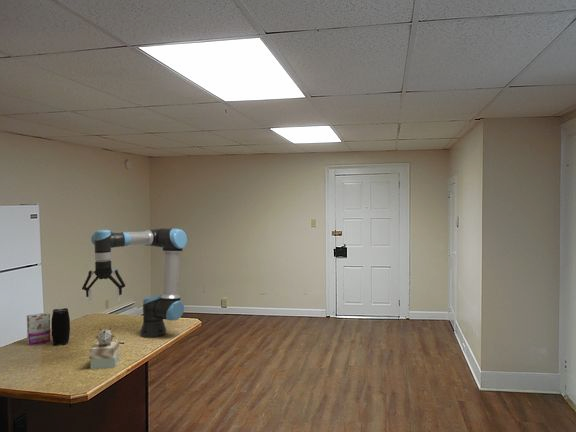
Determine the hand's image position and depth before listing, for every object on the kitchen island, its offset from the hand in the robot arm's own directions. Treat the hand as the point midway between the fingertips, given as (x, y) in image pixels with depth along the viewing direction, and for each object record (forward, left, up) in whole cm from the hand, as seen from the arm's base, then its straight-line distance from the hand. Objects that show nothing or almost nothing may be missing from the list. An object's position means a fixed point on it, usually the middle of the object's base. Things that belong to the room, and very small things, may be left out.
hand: (104, 302), depth 227 cm
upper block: (-1, +7, -25) cm, 26 cm away
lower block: (-1, +7, -30) cm, 31 cm away
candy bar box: (+43, -40, -30) cm, 65 cm away
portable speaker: (+30, -35, -30) cm, 54 cm away
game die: (-1, +7, -20) cm, 21 cm away
